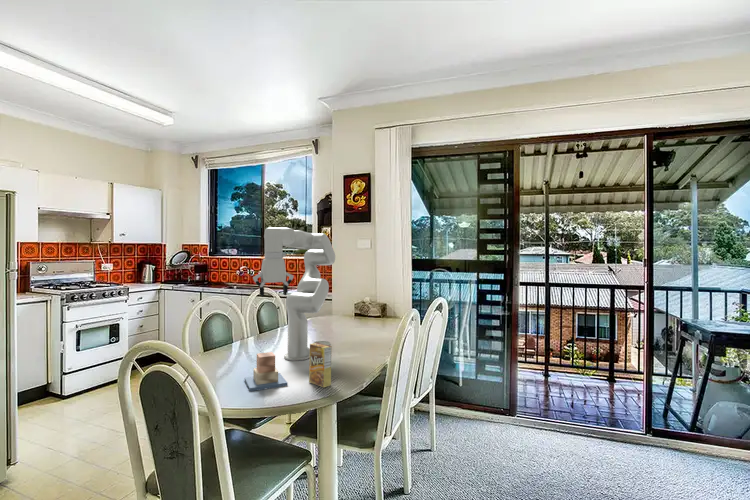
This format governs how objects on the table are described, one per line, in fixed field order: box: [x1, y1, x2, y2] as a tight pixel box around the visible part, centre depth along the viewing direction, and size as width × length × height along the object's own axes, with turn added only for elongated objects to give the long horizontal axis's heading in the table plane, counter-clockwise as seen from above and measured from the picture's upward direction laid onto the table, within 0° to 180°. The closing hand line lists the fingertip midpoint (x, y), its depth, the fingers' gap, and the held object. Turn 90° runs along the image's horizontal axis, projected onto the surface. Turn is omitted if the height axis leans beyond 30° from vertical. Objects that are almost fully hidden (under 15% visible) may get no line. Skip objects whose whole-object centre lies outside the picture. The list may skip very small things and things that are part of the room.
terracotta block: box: [256, 351, 276, 373], centre depth 150 cm, size 6×6×6 cm
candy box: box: [308, 342, 333, 389], centre depth 150 cm, size 9×4×15 cm, turn 50°
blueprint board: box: [244, 367, 288, 392], centre depth 150 cm, size 14×13×5 cm
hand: (273, 295), depth 166 cm, fingers open, 9 cm apart
